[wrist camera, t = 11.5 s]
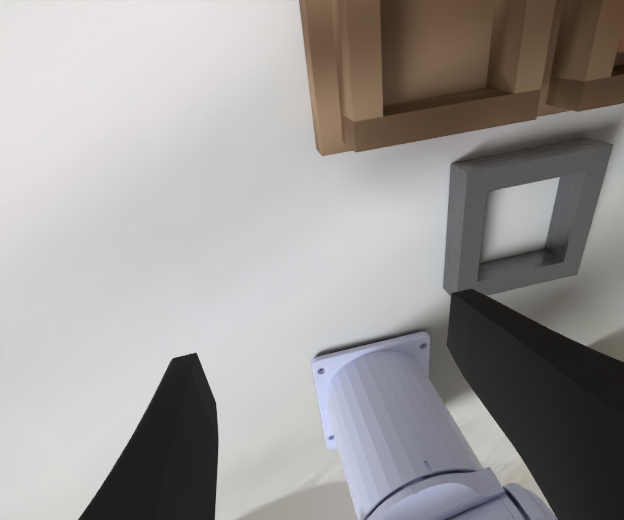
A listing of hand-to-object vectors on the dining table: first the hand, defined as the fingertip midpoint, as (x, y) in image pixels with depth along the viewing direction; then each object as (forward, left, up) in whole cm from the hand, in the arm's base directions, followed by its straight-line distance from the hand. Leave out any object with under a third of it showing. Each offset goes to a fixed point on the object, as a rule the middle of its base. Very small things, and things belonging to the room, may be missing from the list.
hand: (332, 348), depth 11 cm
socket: (-3, -13, -10) cm, 17 cm away
